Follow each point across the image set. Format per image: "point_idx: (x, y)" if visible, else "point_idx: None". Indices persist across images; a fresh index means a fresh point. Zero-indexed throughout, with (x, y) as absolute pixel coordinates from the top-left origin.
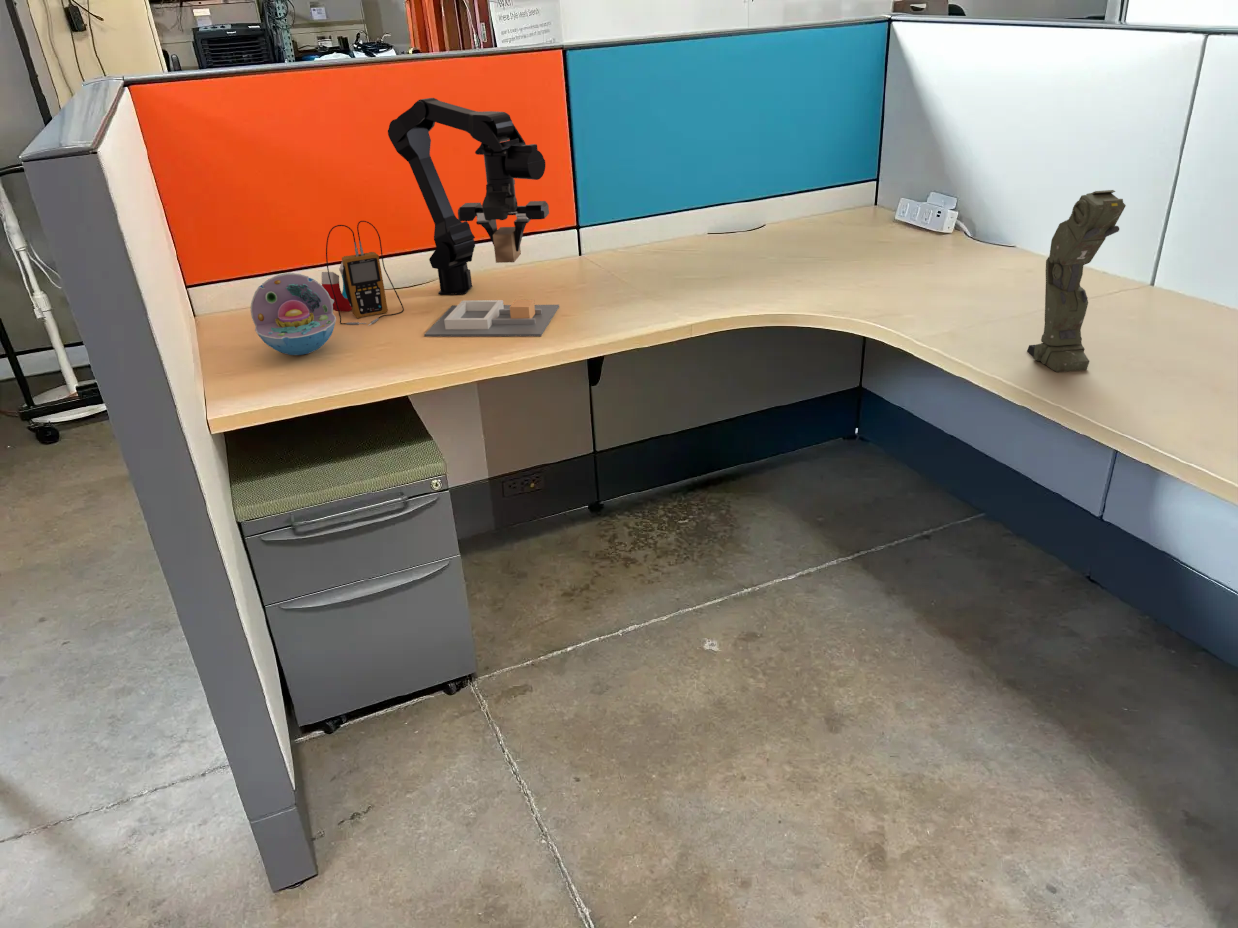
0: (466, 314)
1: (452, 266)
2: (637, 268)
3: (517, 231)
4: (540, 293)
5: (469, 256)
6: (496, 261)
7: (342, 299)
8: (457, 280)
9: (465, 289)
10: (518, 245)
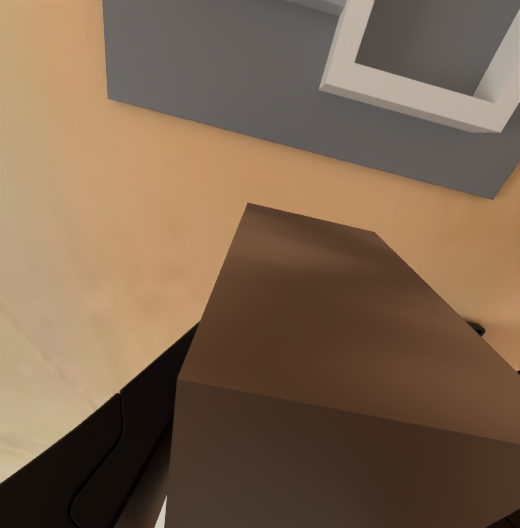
0: (485, 46)
1: None
2: (6, 379)
3: (86, 486)
4: (199, 269)
5: None
6: (372, 233)
7: None
8: None
9: None
10: (186, 334)
